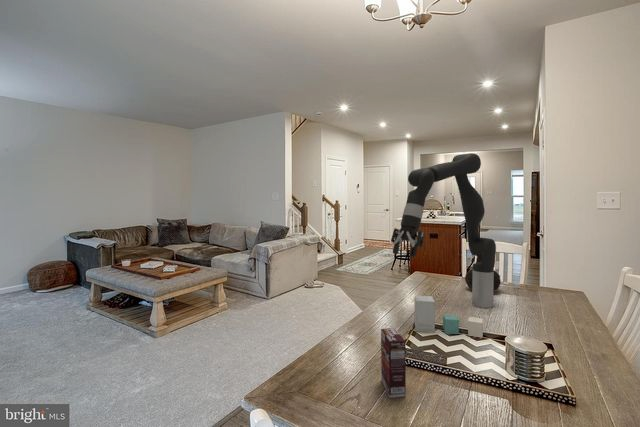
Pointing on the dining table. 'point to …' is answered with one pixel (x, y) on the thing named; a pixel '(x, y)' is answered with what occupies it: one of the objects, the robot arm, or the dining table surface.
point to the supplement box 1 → (393, 362)
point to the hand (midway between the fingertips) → (403, 255)
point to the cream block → (475, 326)
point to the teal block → (450, 324)
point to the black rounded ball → (470, 277)
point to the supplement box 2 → (424, 314)
